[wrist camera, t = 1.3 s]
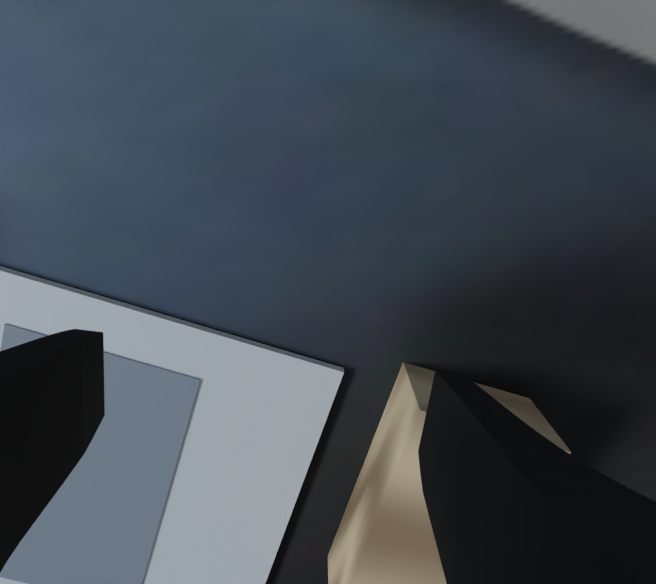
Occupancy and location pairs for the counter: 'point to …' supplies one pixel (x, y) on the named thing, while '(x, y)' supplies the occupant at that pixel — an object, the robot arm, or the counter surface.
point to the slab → (402, 492)
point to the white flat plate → (170, 447)
